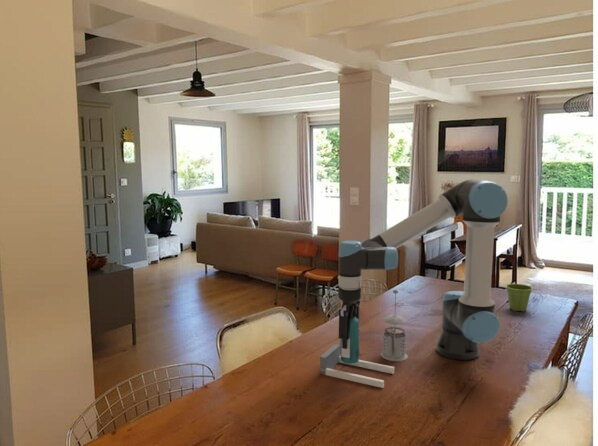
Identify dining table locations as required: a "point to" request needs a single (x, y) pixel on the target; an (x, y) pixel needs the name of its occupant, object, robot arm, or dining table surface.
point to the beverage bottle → (352, 341)
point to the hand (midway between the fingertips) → (348, 353)
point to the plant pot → (518, 296)
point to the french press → (394, 338)
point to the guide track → (333, 358)
